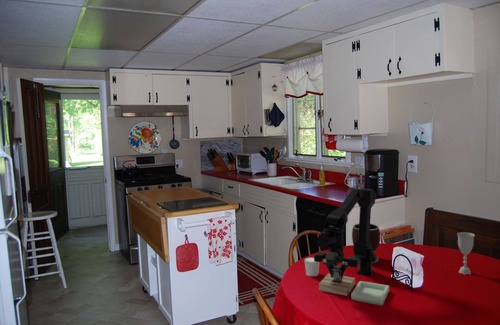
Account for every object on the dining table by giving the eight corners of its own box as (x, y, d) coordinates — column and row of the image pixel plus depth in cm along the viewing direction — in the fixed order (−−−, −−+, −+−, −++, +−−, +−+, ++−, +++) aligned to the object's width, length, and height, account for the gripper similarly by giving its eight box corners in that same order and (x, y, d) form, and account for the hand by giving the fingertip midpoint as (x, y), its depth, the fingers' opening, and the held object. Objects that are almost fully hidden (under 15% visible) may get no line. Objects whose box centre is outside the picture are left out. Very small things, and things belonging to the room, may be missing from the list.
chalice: (456, 274, 180) (457, 235, 178) (455, 269, 186) (456, 231, 185) (475, 276, 177) (476, 237, 176) (472, 270, 184) (473, 232, 182)
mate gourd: (379, 264, 195) (379, 225, 193) (350, 262, 200) (350, 223, 198) (380, 254, 209) (380, 217, 207) (354, 252, 214) (353, 216, 212)
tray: (359, 286, 171) (359, 280, 171) (388, 291, 165) (388, 285, 165) (351, 299, 159) (351, 293, 158) (382, 305, 153) (382, 299, 153)
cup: (319, 277, 183) (319, 262, 182) (304, 276, 184) (304, 261, 183) (319, 271, 189) (319, 257, 189) (305, 271, 191) (305, 256, 190)
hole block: (328, 280, 179) (327, 273, 178) (354, 284, 173) (354, 278, 173) (319, 290, 168) (319, 283, 168) (347, 295, 162) (347, 288, 162)
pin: (333, 284, 174) (333, 264, 173) (343, 286, 171) (343, 266, 171) (330, 288, 170) (330, 268, 169) (340, 290, 168) (340, 269, 167)
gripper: (309, 246, 166) (309, 281, 168) (353, 251, 157) (353, 289, 159) (318, 238, 176) (318, 272, 177) (360, 243, 167) (360, 279, 168)
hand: (337, 278), depth 170 cm, fingers closed on pin, 4 cm apart
